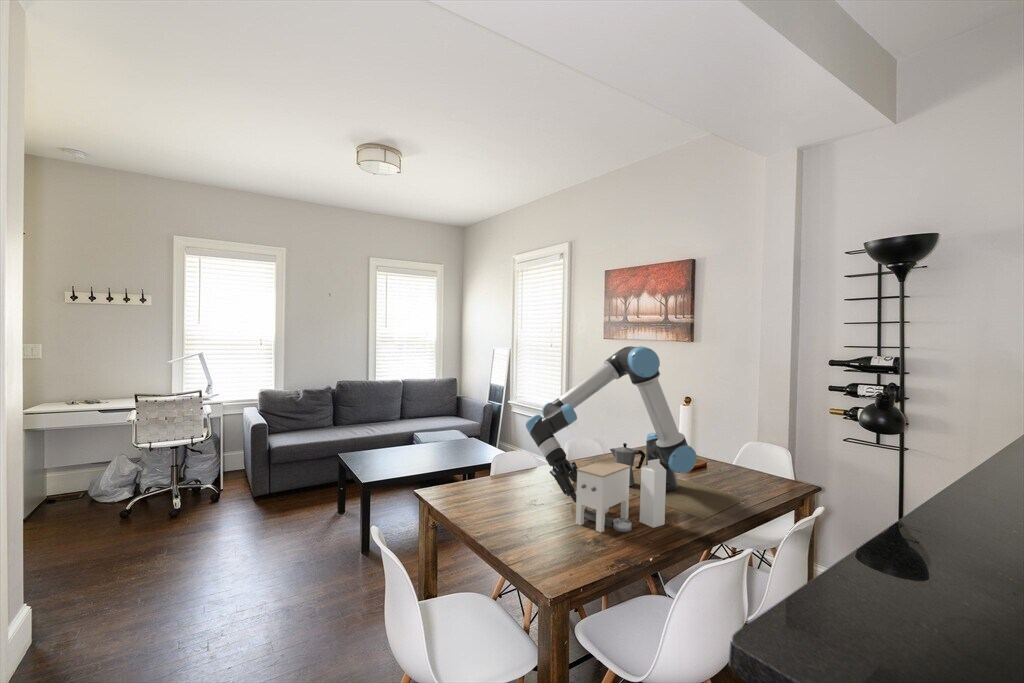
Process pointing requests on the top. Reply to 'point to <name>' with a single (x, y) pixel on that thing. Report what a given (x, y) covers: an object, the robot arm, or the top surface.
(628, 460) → the coffeepot
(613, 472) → the cabinet
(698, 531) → the top surface
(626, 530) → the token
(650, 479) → the milk
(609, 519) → the beige and grey pieces
